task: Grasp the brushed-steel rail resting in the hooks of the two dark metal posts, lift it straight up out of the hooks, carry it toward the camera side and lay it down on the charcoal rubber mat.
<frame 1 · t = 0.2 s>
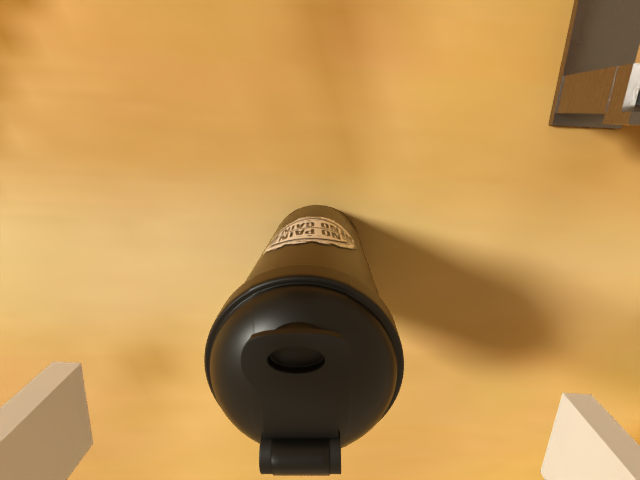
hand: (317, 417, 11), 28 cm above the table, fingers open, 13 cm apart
water bottle: (316, 246, 39), on the table
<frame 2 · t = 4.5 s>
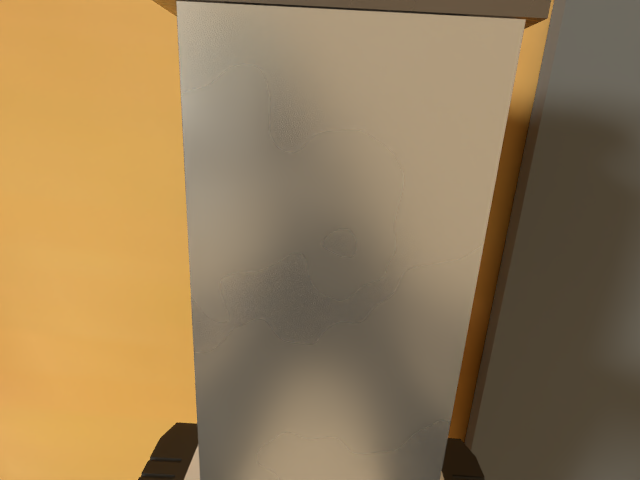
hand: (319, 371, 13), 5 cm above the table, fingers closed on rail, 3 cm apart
rack: (323, 303, 18), on the table
rail: (318, 417, 11), point 7 cm above the table, touching gripper, rack
mat: (591, 320, 17), on the table
when the fingers open (2 cm above the table, at t = 10.8 s): rail drops 3 cm, resting on mat.
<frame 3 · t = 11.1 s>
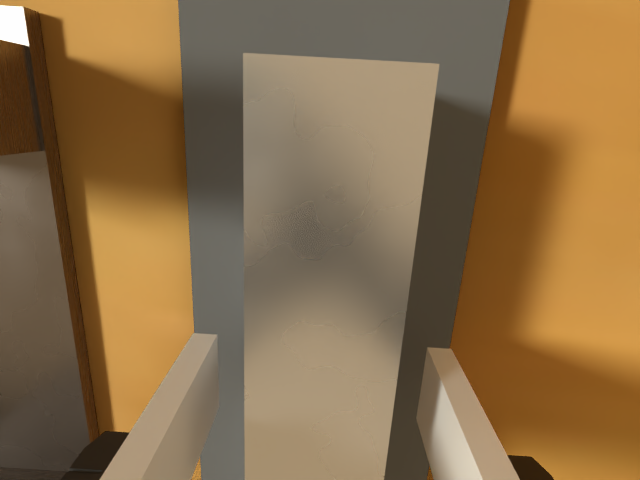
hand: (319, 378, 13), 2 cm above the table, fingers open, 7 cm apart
rack: (4, 320, 15), on the table
rail: (320, 352, 14), point 1 cm above the table, touching mat
mat: (321, 340, 15), on the table
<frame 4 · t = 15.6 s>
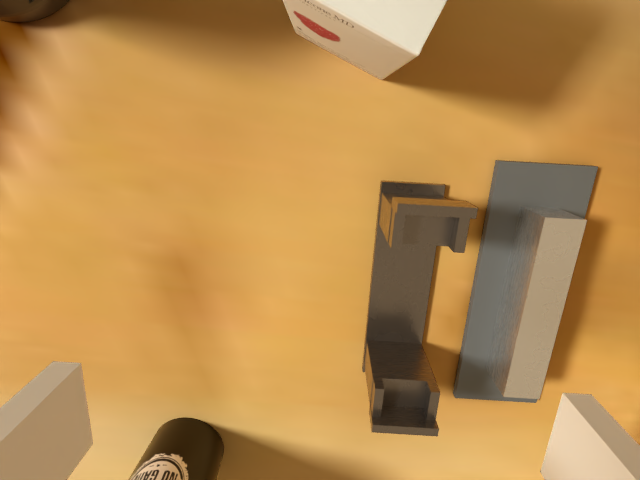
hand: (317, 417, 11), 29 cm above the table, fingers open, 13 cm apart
rack: (399, 283, 41), on the table
rail: (519, 293, 40), point 1 cm above the table, touching mat
water bottle: (189, 444, 48), on the table
mat: (515, 290, 40), on the table
supplement box: (362, 8, 33), on the table
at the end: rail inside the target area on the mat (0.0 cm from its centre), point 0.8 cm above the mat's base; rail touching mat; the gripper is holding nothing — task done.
